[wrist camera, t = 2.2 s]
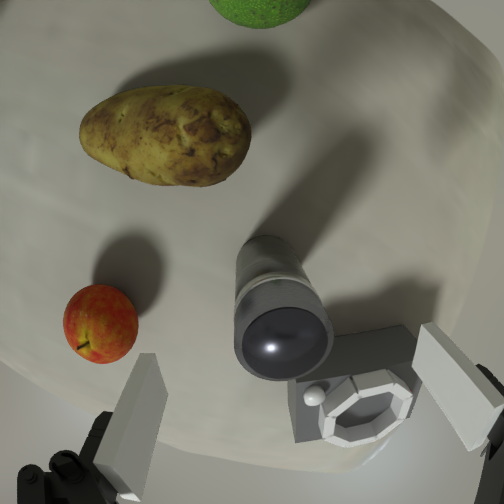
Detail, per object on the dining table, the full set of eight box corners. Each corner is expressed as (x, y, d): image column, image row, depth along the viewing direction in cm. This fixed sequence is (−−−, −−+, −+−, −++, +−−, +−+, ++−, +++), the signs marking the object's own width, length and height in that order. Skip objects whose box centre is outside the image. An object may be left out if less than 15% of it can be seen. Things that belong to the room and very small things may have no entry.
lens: (238, 294, 27) (238, 388, 16) (232, 237, 26) (226, 306, 14) (297, 288, 27) (332, 377, 16) (295, 232, 26) (338, 294, 14)
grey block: (288, 404, 32) (298, 457, 24) (286, 343, 29) (300, 399, 21) (390, 384, 32) (416, 429, 24) (403, 324, 29) (440, 367, 22)
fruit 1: (161, 310, 28) (138, 361, 20) (120, 346, 29) (94, 396, 21) (108, 258, 26) (67, 295, 18) (73, 301, 27) (33, 342, 19)
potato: (131, 62, 21) (92, 31, 13) (263, 125, 23) (274, 110, 15) (87, 146, 23) (35, 146, 15) (212, 212, 25) (200, 238, 17)
